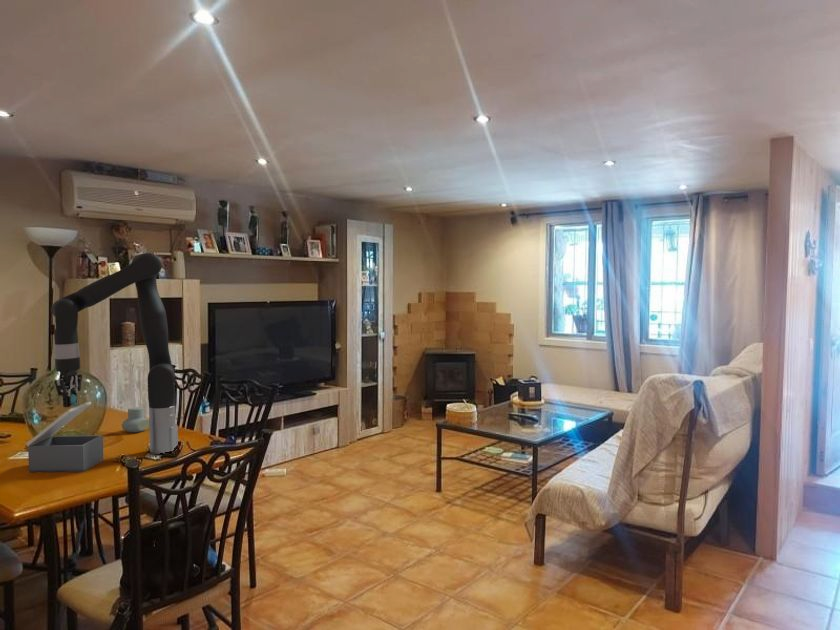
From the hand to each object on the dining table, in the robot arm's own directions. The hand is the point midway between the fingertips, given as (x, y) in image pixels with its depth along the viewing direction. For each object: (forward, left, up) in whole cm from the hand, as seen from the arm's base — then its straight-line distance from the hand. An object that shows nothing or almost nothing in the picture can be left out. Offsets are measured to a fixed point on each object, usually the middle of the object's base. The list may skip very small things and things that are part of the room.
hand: (70, 405), depth 208 cm
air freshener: (0, -51, -22) cm, 55 cm away
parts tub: (+2, 0, -21) cm, 21 cm away
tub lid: (+3, 0, -6) cm, 7 cm away
